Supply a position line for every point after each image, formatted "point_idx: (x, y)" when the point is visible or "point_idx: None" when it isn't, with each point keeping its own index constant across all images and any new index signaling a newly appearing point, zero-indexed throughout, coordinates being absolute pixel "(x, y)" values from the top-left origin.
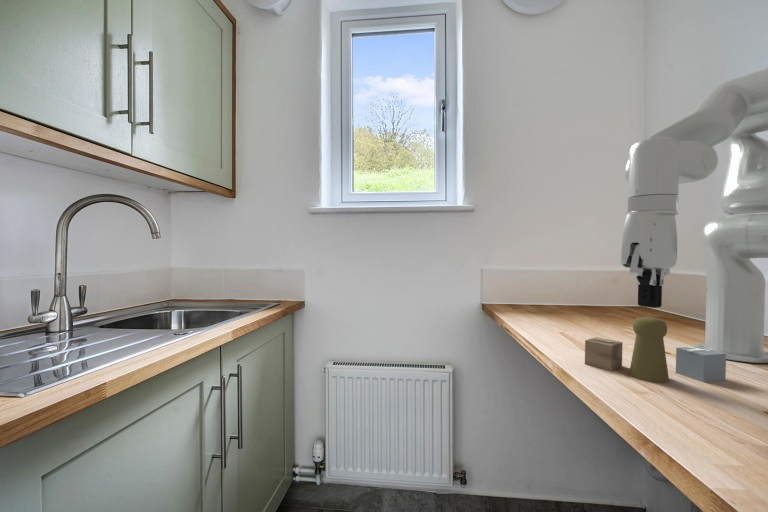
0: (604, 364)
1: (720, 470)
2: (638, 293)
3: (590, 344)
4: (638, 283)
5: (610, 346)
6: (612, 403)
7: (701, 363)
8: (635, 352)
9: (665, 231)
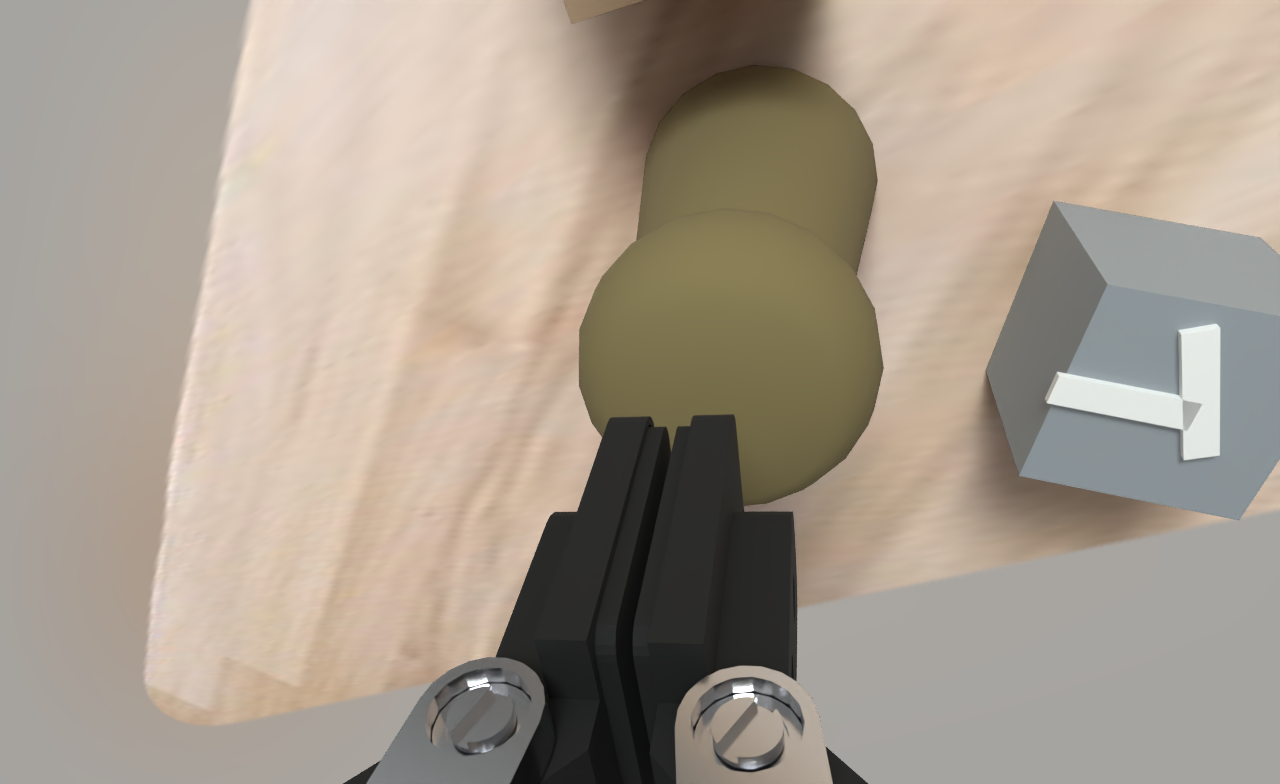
0: None
1: (219, 672)
2: (575, 525)
3: None
4: (448, 695)
5: (568, 11)
6: (217, 356)
7: (1012, 424)
8: (647, 204)
9: None
